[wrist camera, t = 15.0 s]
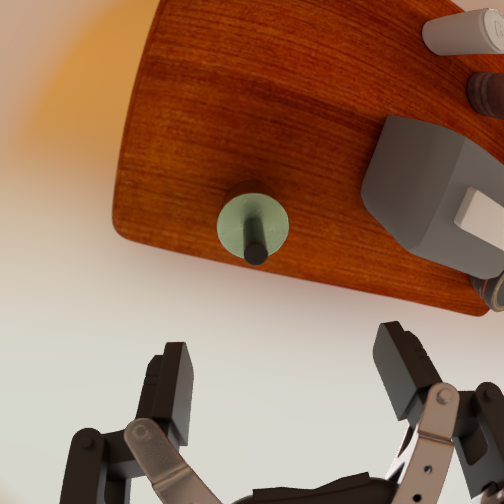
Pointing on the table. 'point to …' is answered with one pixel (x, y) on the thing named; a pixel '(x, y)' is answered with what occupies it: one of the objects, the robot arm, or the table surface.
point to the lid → (252, 226)
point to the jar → (490, 291)
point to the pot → (247, 190)
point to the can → (487, 93)
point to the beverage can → (466, 33)
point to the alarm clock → (438, 196)
